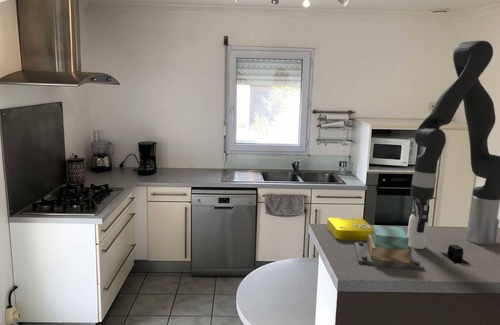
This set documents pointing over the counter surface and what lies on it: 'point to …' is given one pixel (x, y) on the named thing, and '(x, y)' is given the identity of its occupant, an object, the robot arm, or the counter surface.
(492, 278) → the counter surface
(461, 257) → the black slotted housing
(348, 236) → the element tile
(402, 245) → the brick tower
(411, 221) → the can
